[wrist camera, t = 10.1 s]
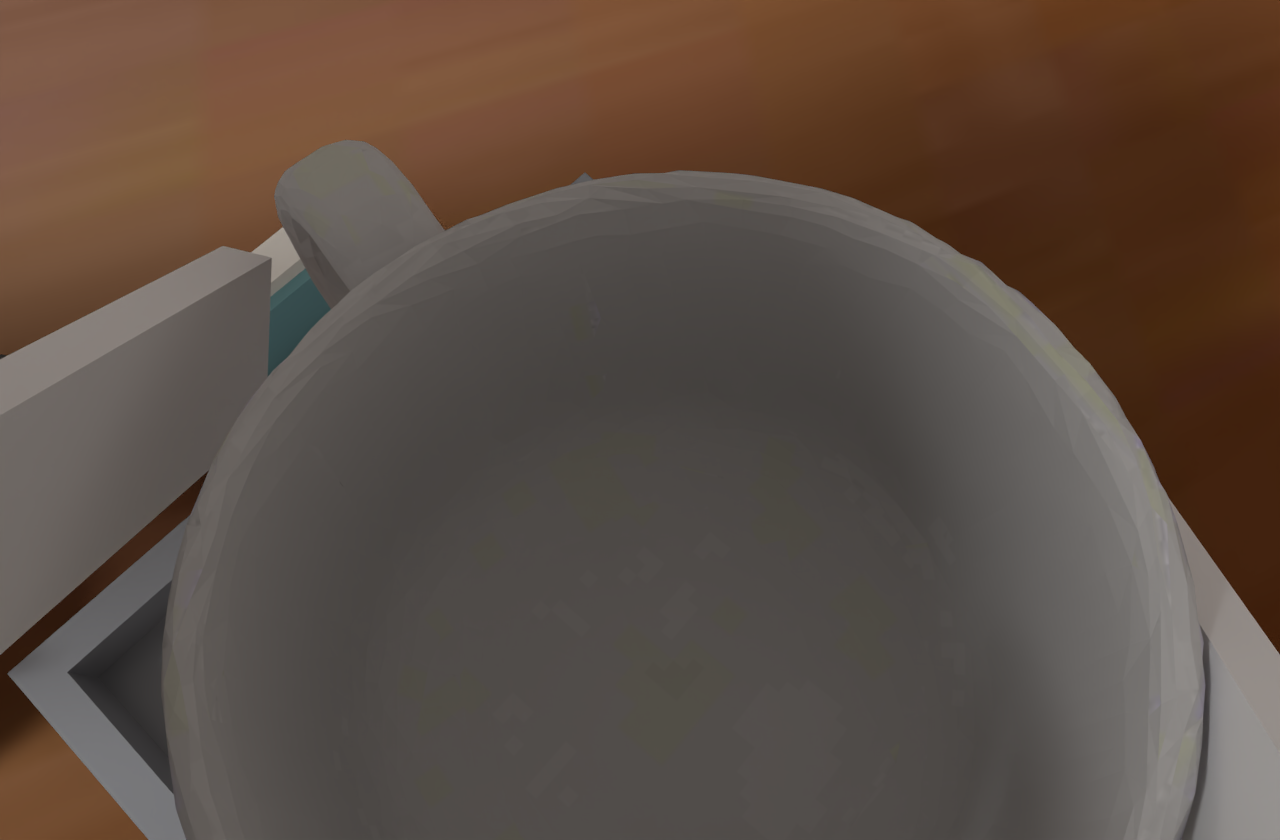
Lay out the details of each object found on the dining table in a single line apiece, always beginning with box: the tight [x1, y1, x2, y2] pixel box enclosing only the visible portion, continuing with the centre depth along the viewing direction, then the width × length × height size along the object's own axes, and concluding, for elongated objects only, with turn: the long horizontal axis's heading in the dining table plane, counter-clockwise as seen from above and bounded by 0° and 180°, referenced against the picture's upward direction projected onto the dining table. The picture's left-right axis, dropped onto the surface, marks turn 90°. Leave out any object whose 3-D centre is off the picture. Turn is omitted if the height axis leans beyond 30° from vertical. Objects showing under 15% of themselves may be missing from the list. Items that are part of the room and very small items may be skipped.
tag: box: [251, 227, 331, 376], centre depth 27 cm, size 1×8×5 cm, turn 137°
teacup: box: [161, 140, 1206, 840], centre depth 14 cm, size 14×11×8 cm
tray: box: [7, 173, 593, 840], centre depth 26 cm, size 20×20×2 cm
